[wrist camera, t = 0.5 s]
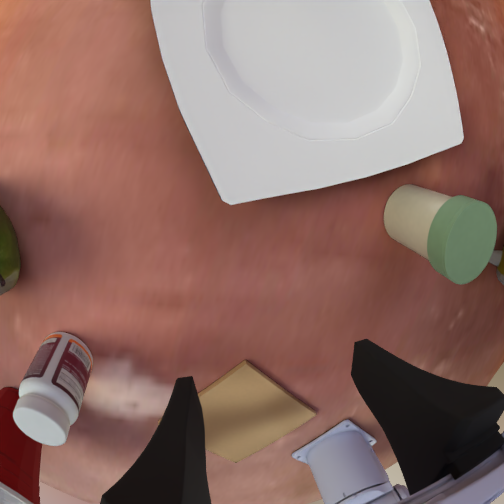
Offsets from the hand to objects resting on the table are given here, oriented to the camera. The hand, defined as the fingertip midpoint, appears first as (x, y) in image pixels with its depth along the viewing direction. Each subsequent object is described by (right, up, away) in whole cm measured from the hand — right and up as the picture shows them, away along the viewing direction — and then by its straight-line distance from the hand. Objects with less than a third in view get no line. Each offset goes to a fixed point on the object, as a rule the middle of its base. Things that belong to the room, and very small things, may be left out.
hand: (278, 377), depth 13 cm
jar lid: (+12, +6, +3) cm, 14 cm away
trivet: (-2, -11, +15) cm, 18 cm away
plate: (+3, +20, +4) cm, 21 cm away
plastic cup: (-25, -11, +10) cm, 29 cm away
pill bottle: (-16, -3, +9) cm, 19 cm away
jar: (+11, +8, +10) cm, 17 cm away
